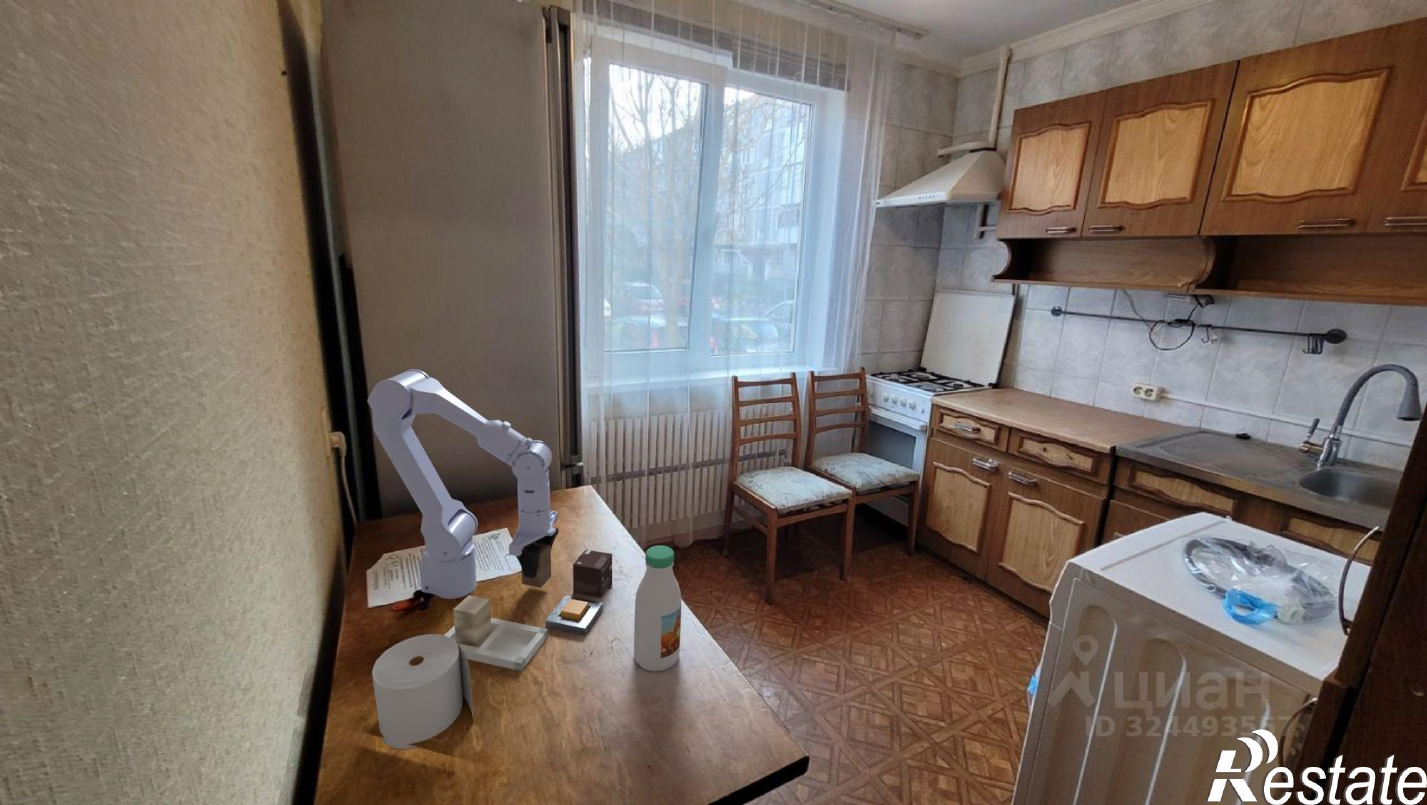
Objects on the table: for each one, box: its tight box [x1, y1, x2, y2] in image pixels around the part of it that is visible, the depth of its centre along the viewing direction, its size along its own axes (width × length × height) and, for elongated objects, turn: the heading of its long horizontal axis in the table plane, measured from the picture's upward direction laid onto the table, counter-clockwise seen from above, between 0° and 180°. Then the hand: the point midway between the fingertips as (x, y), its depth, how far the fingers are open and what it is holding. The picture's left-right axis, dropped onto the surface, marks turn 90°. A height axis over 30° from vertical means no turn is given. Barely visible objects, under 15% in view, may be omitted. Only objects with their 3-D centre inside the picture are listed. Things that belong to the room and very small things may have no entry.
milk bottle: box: [633, 545, 682, 672], centre depth 90 cm, size 8×8×20 cm
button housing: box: [544, 595, 604, 637], centre depth 99 cm, size 8×8×2 cm
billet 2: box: [520, 542, 552, 588], centre depth 106 cm, size 4×4×7 cm
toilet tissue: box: [371, 633, 474, 750], centre depth 77 cm, size 11×12×10 cm
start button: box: [561, 599, 588, 621], centre depth 99 cm, size 4×4×3 cm
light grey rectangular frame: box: [444, 617, 549, 672], centre depth 92 cm, size 16×8×2 cm, turn 78°
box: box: [572, 549, 613, 598], centre depth 109 cm, size 6×6×7 cm
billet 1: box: [452, 594, 492, 648], centre depth 92 cm, size 4×4×7 cm
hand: (536, 569), depth 106 cm, fingers closed on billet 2, 4 cm apart
